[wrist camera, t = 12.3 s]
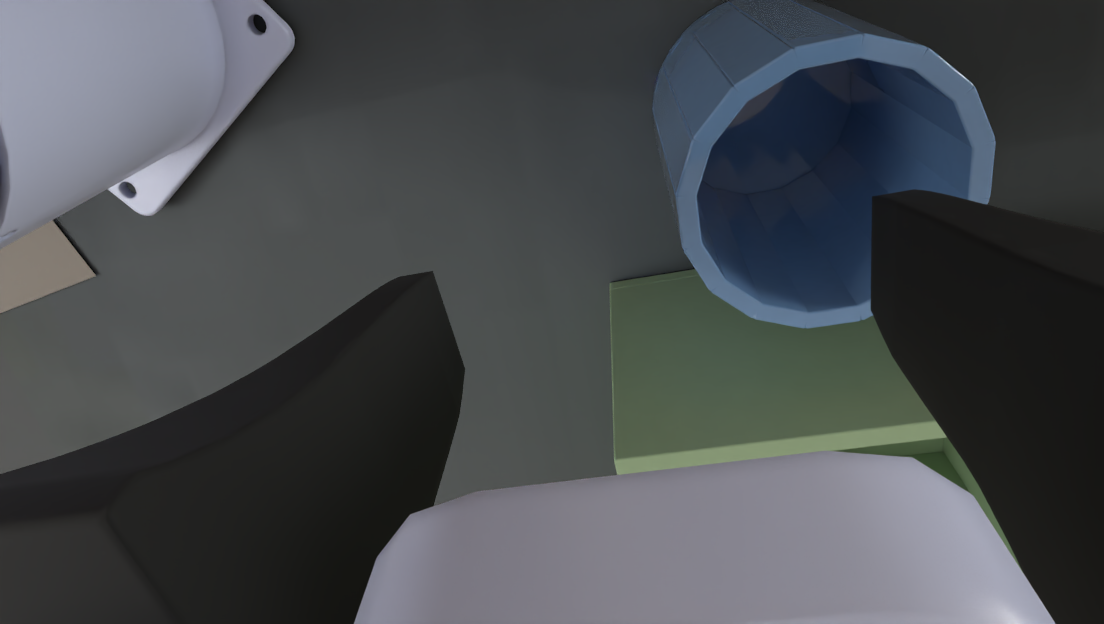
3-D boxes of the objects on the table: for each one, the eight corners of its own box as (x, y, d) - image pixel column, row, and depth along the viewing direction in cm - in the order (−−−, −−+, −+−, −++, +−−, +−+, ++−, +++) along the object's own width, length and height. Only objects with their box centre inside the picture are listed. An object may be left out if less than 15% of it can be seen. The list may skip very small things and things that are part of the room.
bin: (609, 282, 23) (613, 460, 15) (969, 224, 21) (1170, 393, 14) (648, 484, 27) (666, 699, 20) (950, 450, 25) (1094, 671, 18)
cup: (666, 214, 21) (694, 345, 15) (638, 18, 19) (659, 75, 12) (859, 180, 20) (980, 305, 14) (860, -30, 18) (1011, 2, 11)
